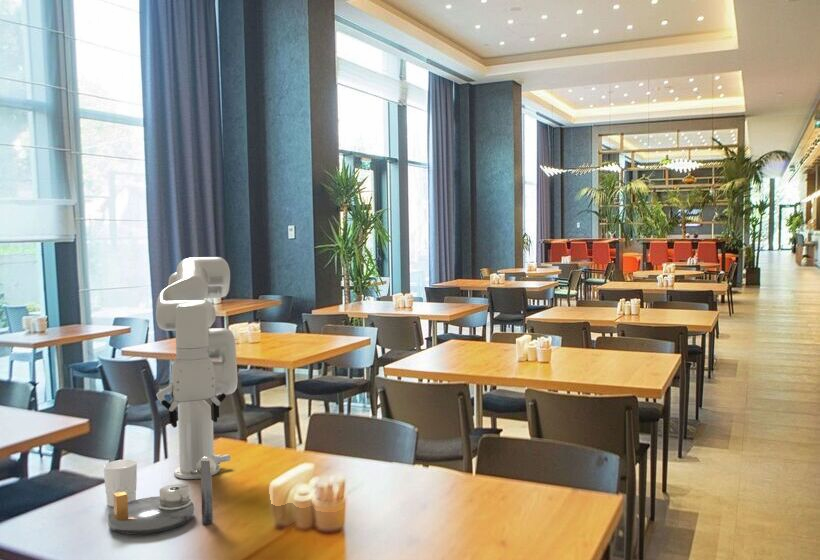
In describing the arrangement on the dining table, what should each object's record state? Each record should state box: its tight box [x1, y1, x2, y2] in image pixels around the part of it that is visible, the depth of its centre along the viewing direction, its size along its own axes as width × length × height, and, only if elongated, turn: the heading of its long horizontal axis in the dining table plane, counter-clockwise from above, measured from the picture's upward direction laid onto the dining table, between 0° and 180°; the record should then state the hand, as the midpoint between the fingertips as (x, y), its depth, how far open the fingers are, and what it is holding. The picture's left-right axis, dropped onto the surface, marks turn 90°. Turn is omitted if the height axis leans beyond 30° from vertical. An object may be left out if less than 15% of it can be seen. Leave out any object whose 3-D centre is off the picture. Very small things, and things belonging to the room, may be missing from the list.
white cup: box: [103, 459, 138, 508], centre depth 182 cm, size 8×8×10 cm
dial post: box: [190, 457, 216, 526], centre depth 168 cm, size 6×2×16 cm, turn 86°
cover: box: [158, 483, 192, 511], centre depth 172 cm, size 8×8×4 cm
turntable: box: [107, 492, 195, 535], centre depth 169 cm, size 19×19×7 cm
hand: (194, 423), depth 175 cm, fingers open, 9 cm apart
